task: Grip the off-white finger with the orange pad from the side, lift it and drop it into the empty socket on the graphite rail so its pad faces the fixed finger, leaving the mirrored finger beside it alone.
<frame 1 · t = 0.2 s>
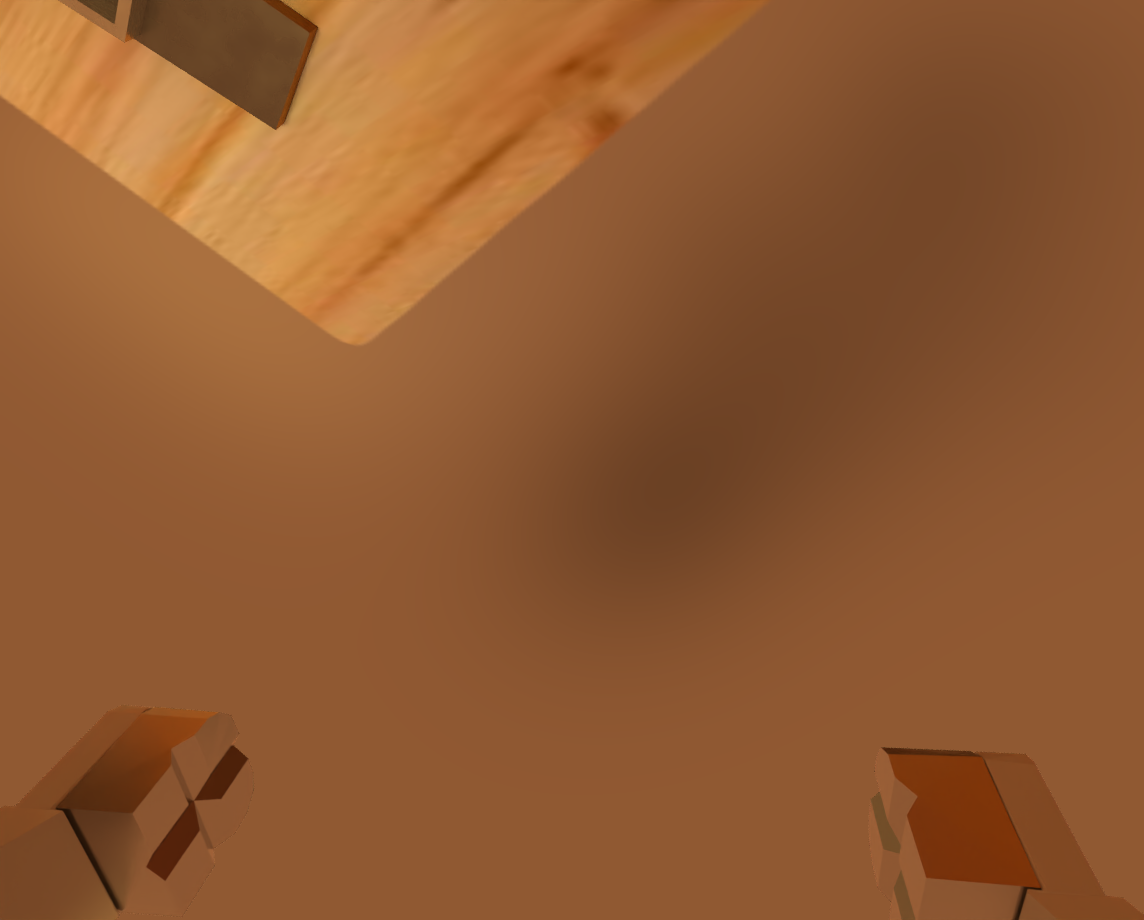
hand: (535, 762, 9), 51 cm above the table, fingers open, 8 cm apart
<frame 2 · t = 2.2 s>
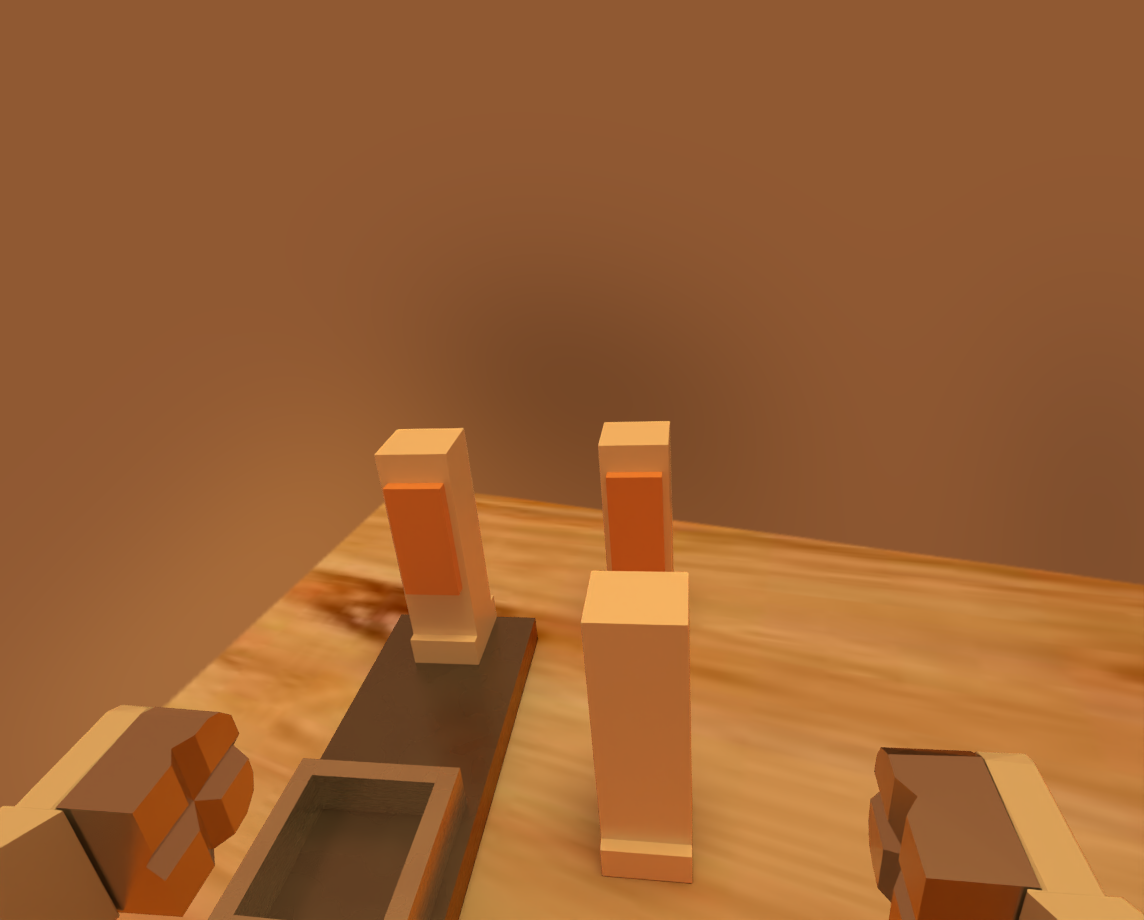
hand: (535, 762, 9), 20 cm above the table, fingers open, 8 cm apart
mirrored finger: (643, 619, 43), on the table
rail: (371, 879, 29), on the table
loose finger: (649, 833, 30), on the table
fixed finger: (457, 638, 40), resting on rail
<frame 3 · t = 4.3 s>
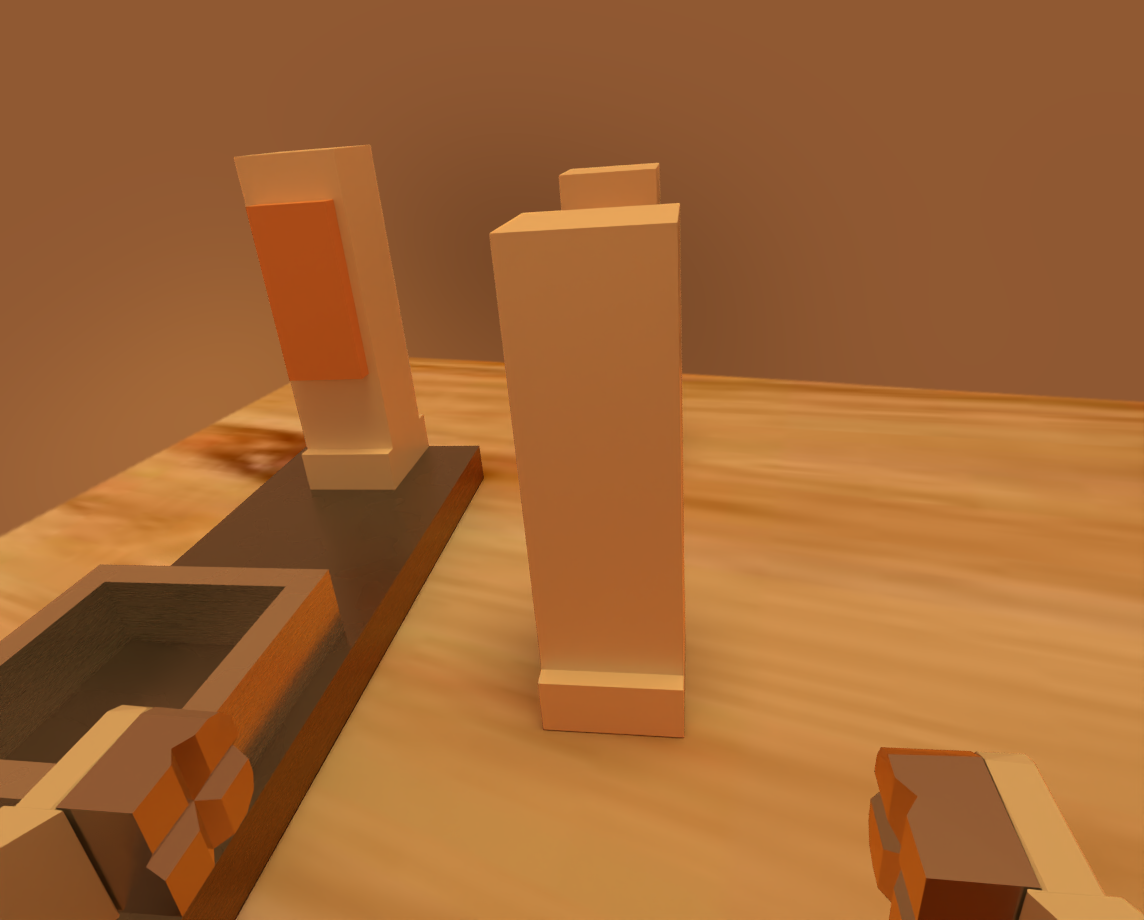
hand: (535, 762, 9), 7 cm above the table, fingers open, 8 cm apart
mirrored finger: (625, 457, 32), on the table
rail: (188, 738, 19), on the table
loose finger: (619, 677, 20), on the table
fixed finger: (372, 466, 30), resting on rail
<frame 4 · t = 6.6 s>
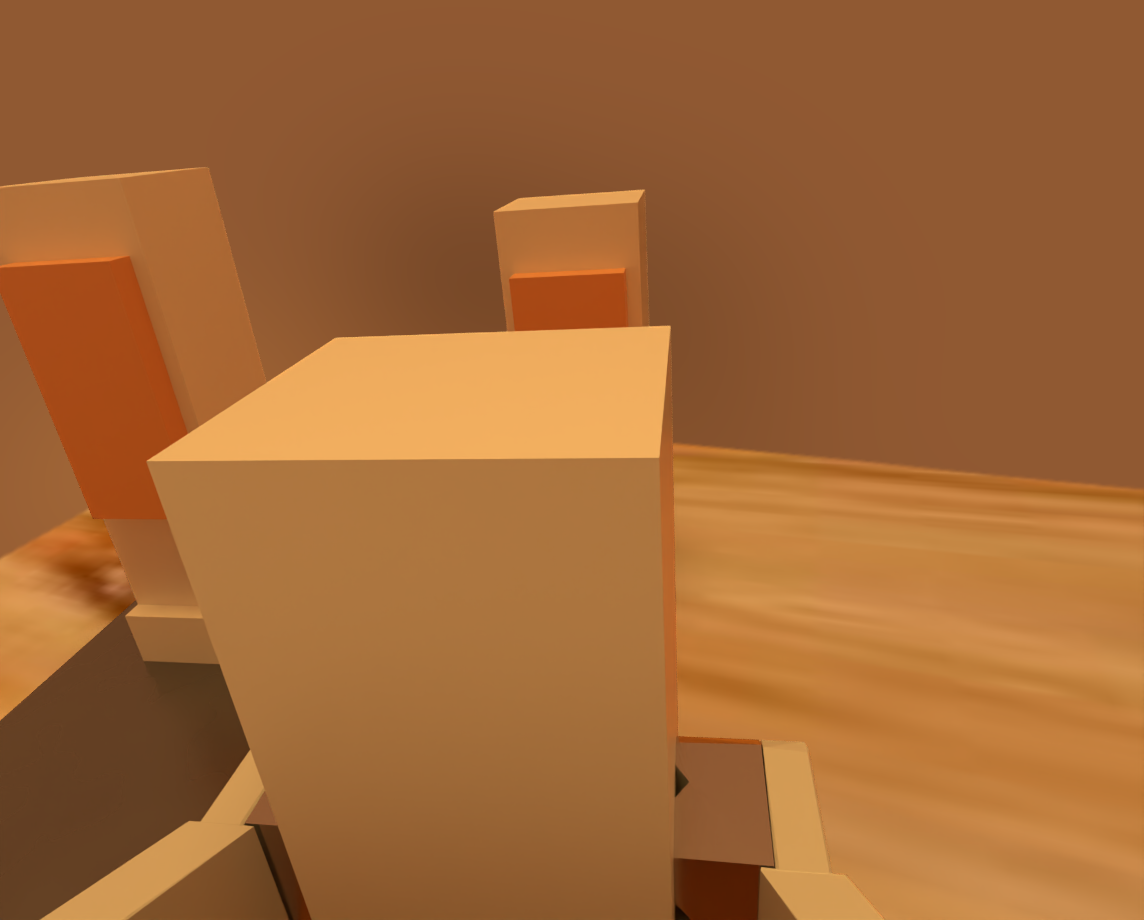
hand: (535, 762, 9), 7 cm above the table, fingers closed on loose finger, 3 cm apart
mirrored finger: (601, 586, 24), on the table
fixed finger: (242, 616, 21), resting on rail
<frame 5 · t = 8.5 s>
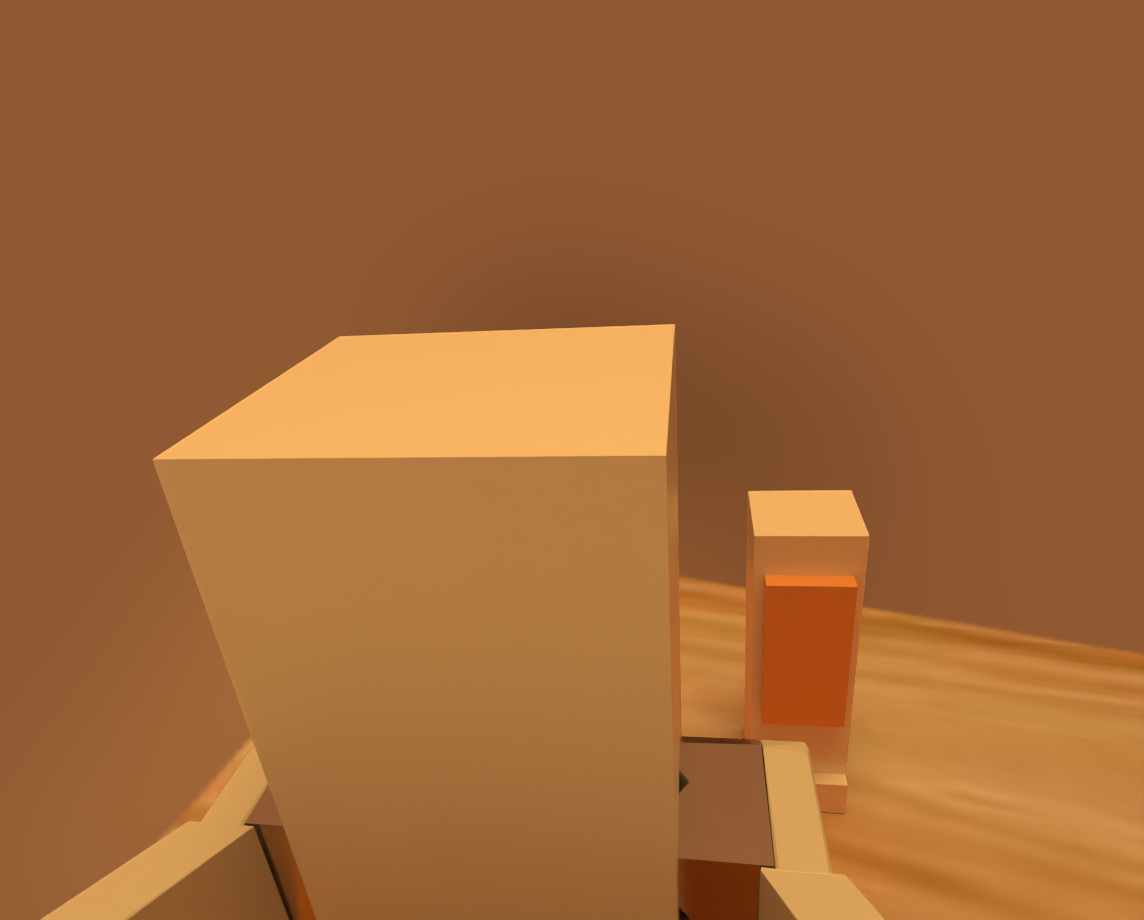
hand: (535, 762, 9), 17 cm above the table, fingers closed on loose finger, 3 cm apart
mirrored finger: (790, 767, 30), on the table
when the fingers open (11 cm above the table, at t = 10.7 s): loose finger drops 2 cm, resting on rail.
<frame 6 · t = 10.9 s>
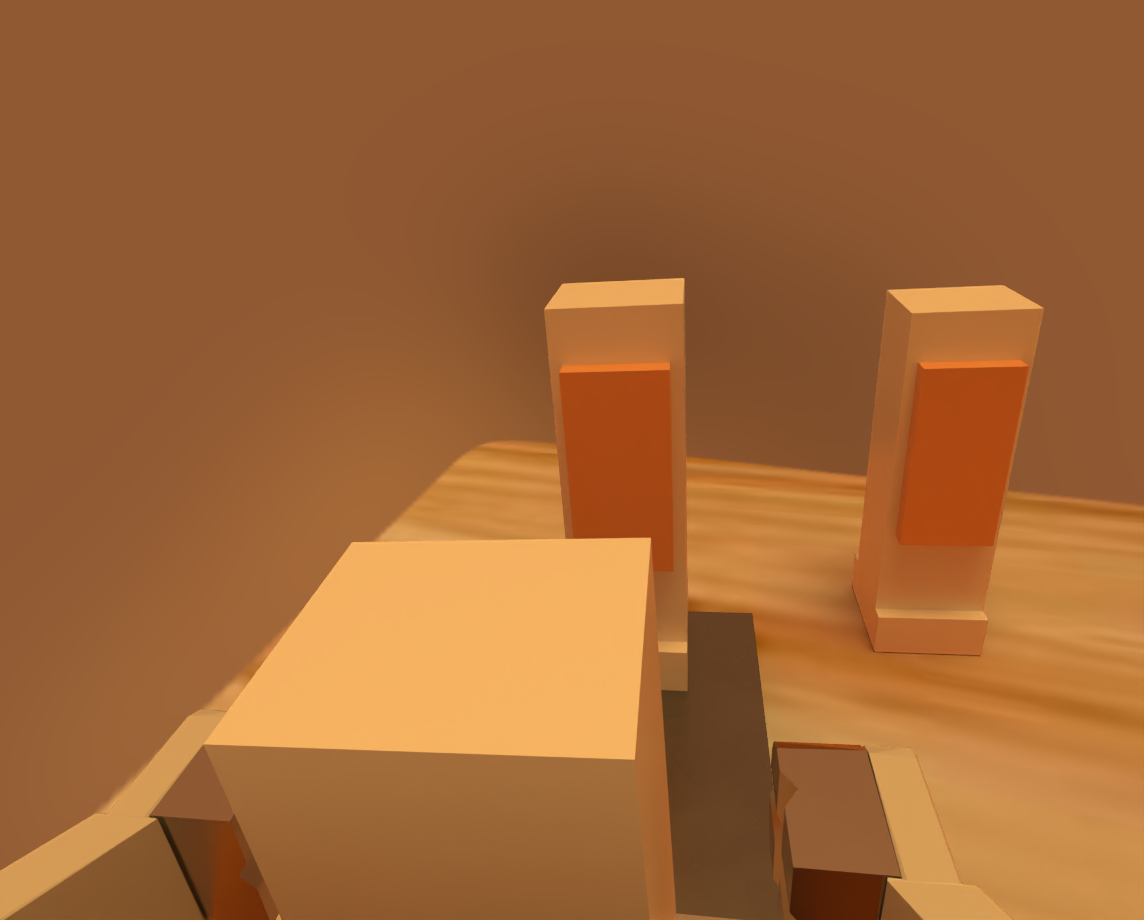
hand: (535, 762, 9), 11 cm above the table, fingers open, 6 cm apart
mirrored finger: (911, 617, 27), on the table
fixed finger: (635, 646, 25), resting on rail
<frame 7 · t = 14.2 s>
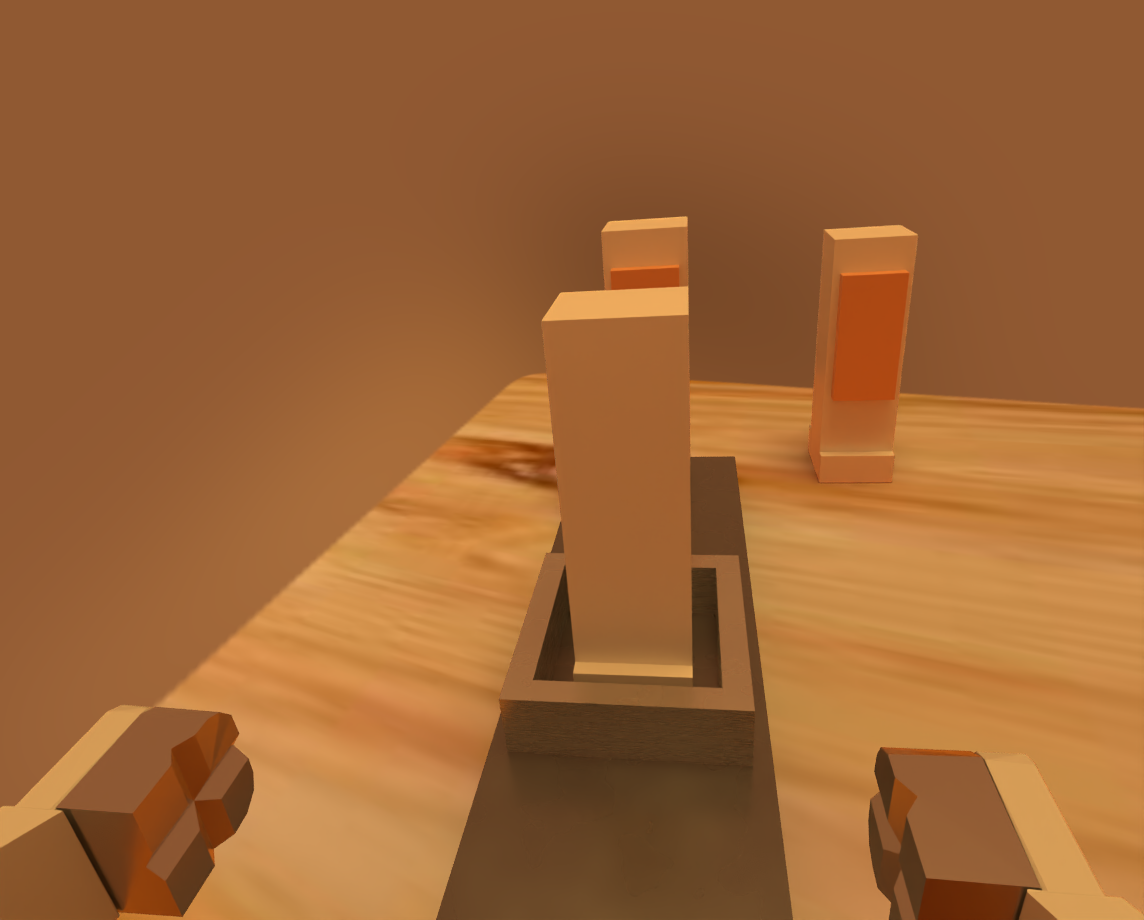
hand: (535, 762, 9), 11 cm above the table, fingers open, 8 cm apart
mirrored finger: (847, 465, 39), on the table
rail: (639, 682, 25), on the table
loose finger: (638, 668, 24), point 1 cm above the table, touching rail
fixed finger: (654, 474, 36), resting on rail
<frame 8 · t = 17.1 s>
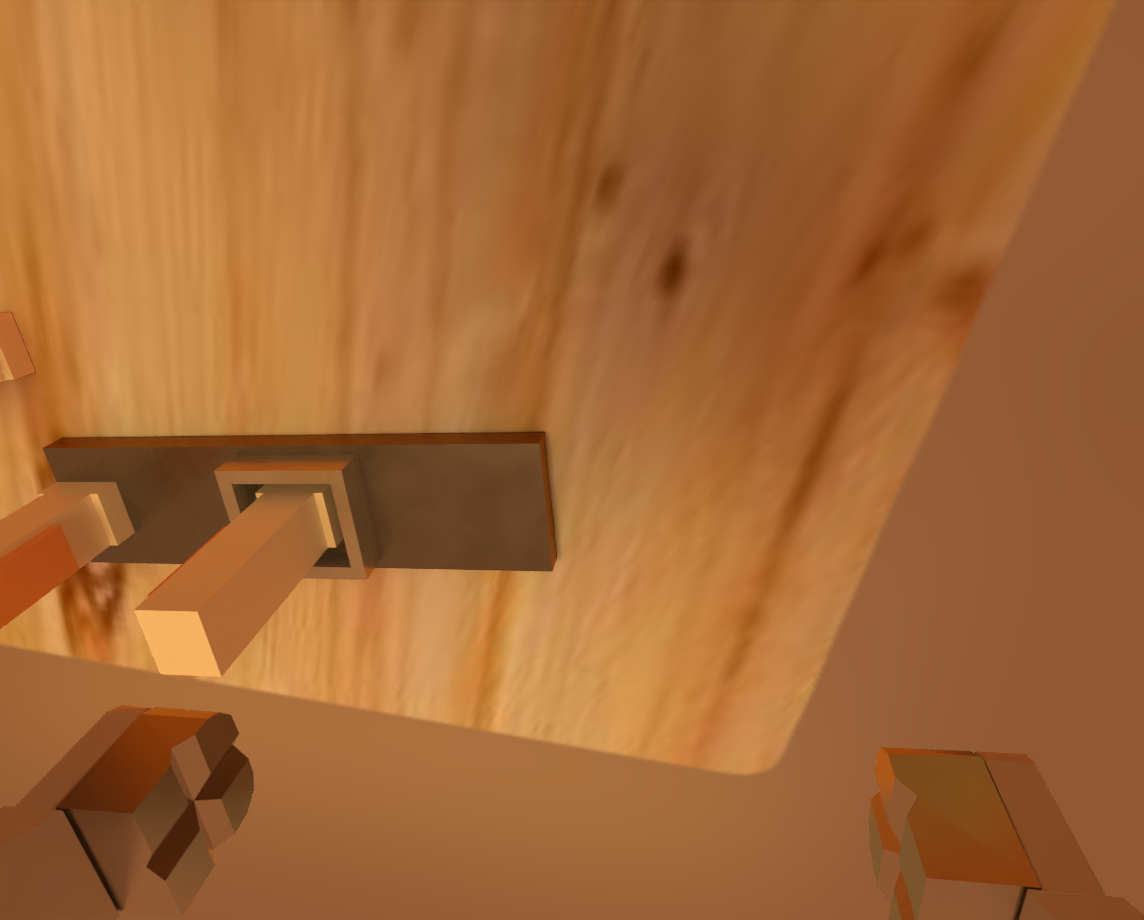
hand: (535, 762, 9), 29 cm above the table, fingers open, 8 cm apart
rail: (305, 496, 44), on the table
loose finger: (308, 507, 42), point 1 cm above the table, touching rail
fixed finger: (96, 507, 44), resting on rail
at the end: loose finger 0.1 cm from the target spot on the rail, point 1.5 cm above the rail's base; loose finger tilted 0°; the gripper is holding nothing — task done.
